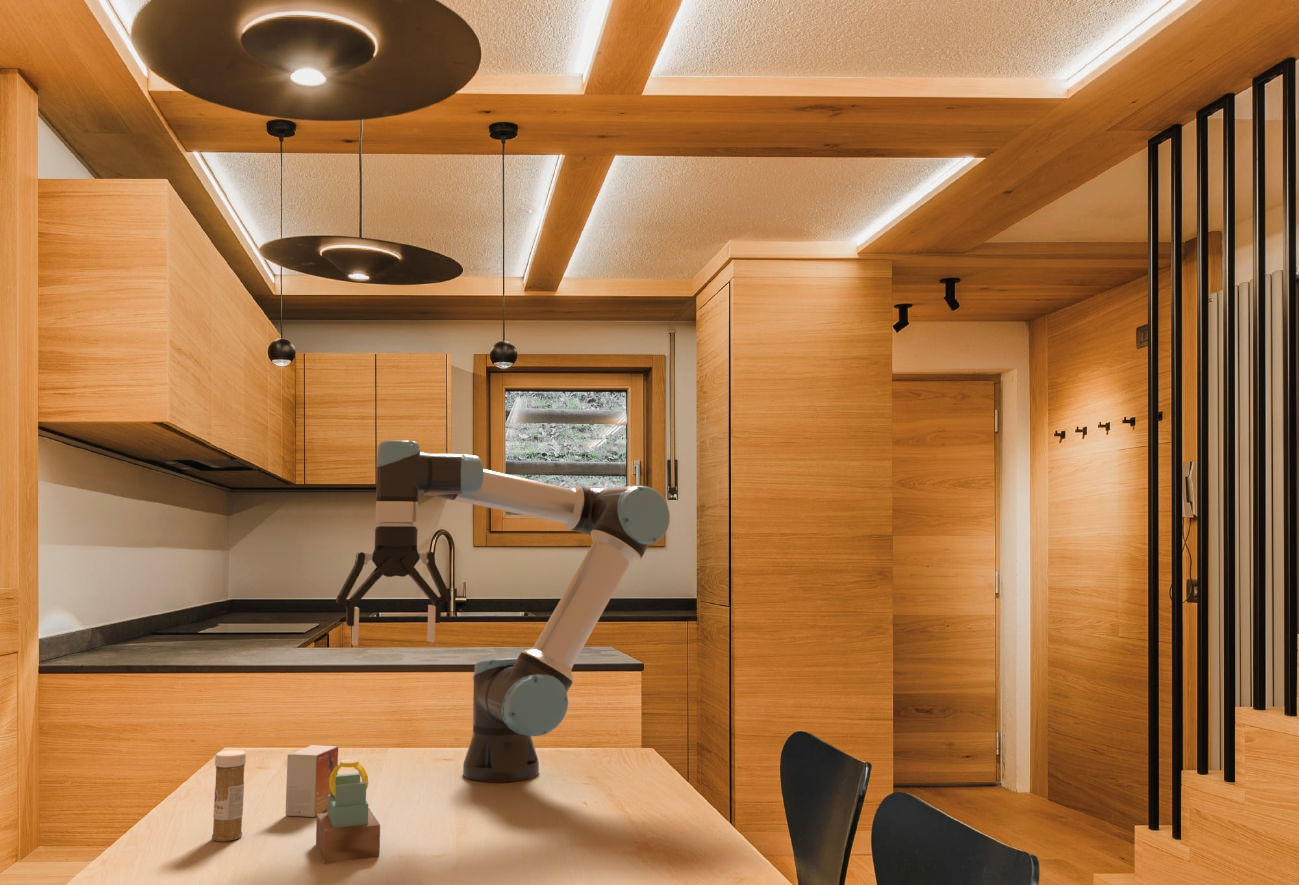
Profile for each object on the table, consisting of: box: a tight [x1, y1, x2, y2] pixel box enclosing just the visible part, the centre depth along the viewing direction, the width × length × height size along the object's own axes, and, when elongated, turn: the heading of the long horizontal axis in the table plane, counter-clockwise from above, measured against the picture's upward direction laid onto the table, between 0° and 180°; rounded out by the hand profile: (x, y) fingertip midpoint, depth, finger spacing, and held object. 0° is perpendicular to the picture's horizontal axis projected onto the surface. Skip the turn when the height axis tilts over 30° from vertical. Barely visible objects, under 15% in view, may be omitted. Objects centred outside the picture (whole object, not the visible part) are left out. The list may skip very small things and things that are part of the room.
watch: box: [329, 758, 369, 796], centre depth 158 cm, size 6×3×6 cm, turn 77°
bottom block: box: [315, 807, 381, 865], centre depth 157 cm, size 8×10×5 cm
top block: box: [326, 772, 369, 828], centre depth 157 cm, size 5×8×6 cm, turn 24°
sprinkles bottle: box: [211, 749, 247, 842], centre depth 163 cm, size 5×5×14 cm
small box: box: [285, 744, 339, 818], centre depth 179 cm, size 8×6×10 cm
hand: (393, 643), depth 184 cm, fingers open, 13 cm apart
